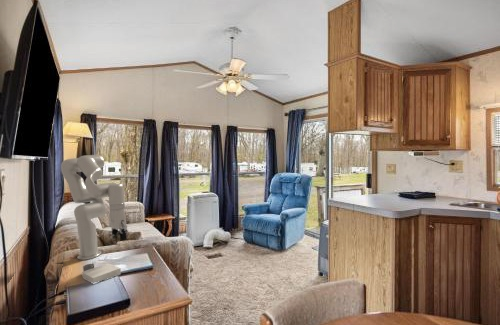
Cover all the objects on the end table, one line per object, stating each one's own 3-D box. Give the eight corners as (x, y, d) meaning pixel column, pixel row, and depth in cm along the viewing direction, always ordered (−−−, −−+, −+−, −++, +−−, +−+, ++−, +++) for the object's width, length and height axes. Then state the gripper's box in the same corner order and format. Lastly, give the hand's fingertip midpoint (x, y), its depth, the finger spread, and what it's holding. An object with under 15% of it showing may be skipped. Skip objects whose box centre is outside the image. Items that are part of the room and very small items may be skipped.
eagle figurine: (126, 241, 158) (131, 233, 166) (117, 231, 156) (122, 223, 164) (115, 249, 158) (120, 240, 167) (105, 239, 156) (111, 231, 165)
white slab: (82, 277, 146) (82, 272, 146) (109, 268, 156) (108, 263, 156) (93, 284, 138) (93, 278, 138) (120, 274, 148) (120, 268, 148)
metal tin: (82, 273, 152) (81, 266, 152) (92, 270, 156) (91, 263, 155) (86, 276, 148) (85, 268, 148) (96, 272, 152) (95, 264, 152)
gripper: (102, 206, 162) (105, 237, 163) (117, 210, 150) (120, 243, 151) (116, 204, 167) (118, 234, 168) (131, 207, 156) (134, 239, 157)
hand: (119, 238), depth 160 cm, fingers closed on eagle figurine, 8 cm apart
